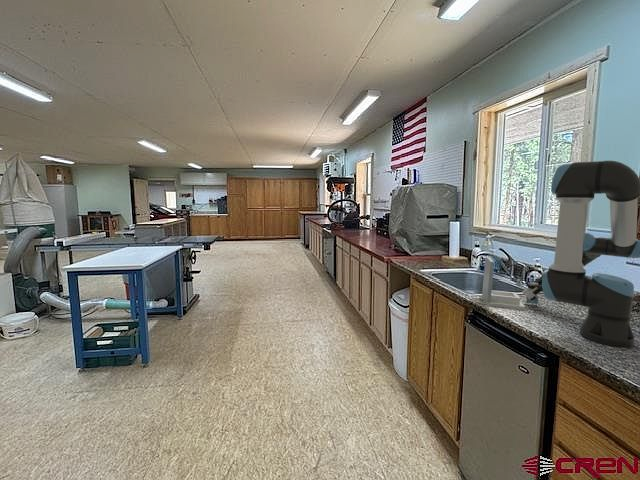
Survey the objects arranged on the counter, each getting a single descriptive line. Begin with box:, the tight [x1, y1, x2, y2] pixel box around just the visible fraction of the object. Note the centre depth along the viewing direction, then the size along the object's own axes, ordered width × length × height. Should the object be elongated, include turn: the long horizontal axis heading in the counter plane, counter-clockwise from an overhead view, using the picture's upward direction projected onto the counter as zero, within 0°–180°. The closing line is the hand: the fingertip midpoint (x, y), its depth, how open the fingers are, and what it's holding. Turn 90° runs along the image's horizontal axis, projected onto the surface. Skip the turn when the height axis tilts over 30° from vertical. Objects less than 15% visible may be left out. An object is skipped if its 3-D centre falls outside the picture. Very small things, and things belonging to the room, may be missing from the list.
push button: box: [525, 281, 543, 305], centre depth 161 cm, size 7×5×10 cm
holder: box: [481, 256, 526, 311], centre depth 163 cm, size 18×16×22 cm
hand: (525, 295), depth 162 cm, fingers closed on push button, 5 cm apart
